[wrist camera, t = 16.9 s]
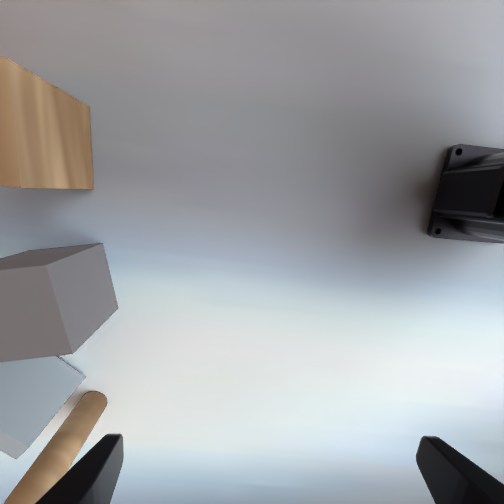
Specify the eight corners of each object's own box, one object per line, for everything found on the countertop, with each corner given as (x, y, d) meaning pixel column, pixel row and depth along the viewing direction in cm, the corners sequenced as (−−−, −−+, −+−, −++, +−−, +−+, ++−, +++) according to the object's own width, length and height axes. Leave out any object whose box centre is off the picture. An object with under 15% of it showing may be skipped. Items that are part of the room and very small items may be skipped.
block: (103, 243, 17) (45, 265, 12) (118, 307, 19) (72, 353, 13) (29, 250, 17) (-62, 276, 12) (50, 315, 18) (-25, 365, 13)
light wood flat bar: (92, 106, 15) (-20, 39, 9) (107, 411, 21) (45, 519, 14) (58, 103, 15) (-84, 30, 8) (82, 411, 20) (6, 520, 14)
